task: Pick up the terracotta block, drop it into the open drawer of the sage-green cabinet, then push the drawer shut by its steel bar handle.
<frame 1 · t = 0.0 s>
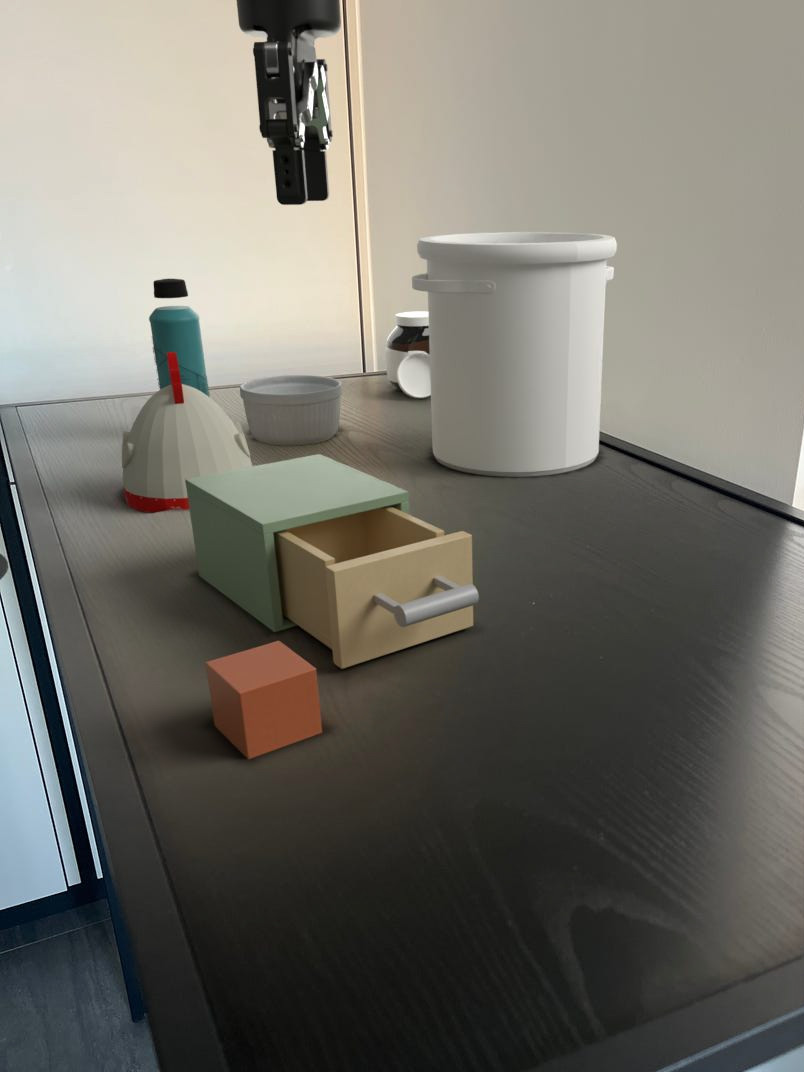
hand: (304, 202, 78), 30 cm above the table, tool pointing down, fingers open, 8 cm apart
ramekin: (296, 437, 130), on the table
cabinet: (304, 588, 82), on the table
beverage bottle: (191, 437, 131), on the table
drawer: (374, 581, 72), point 5 cm above the table, slide at 8.0 cm
block: (268, 735, 61), on the table
spread jar: (421, 393, 155), on the table
kitchen timer: (192, 495, 107), on the table
bucket: (515, 459, 119), on the table
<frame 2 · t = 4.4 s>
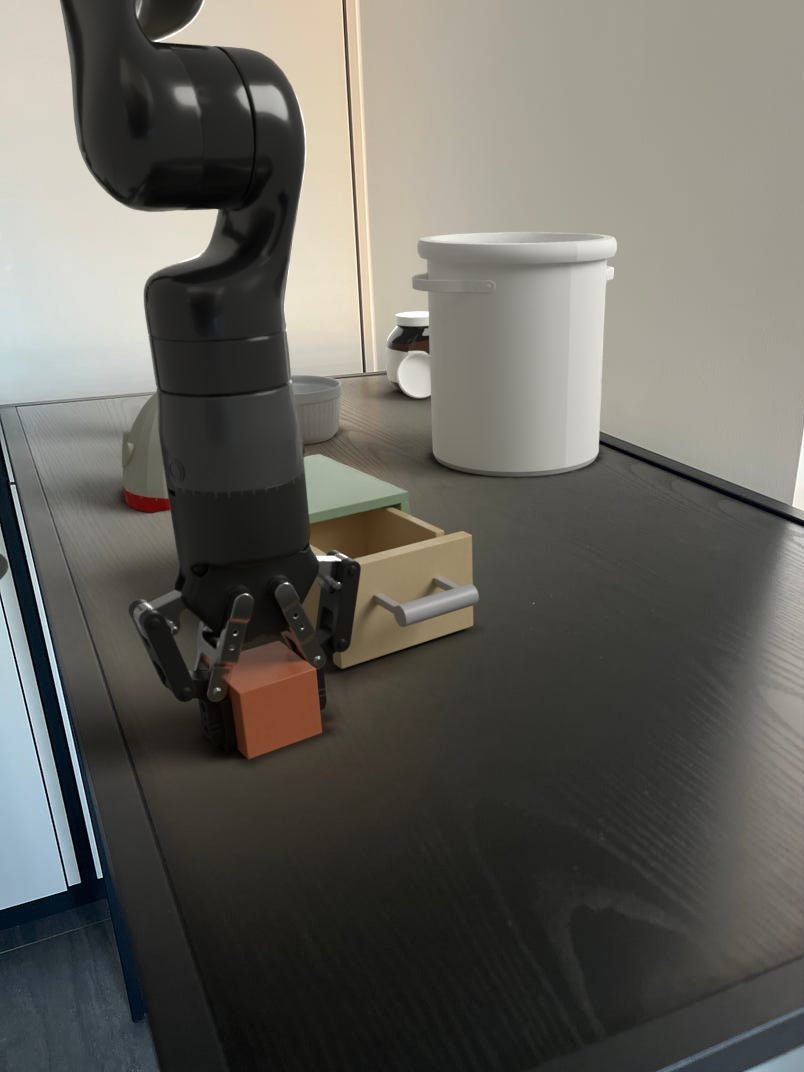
hand: (267, 730, 61), 0 cm above the table, tool pointing down, fingers closed on block, 5 cm apart
block: (268, 735, 61), on the table, touching gripper
everything else where it was.
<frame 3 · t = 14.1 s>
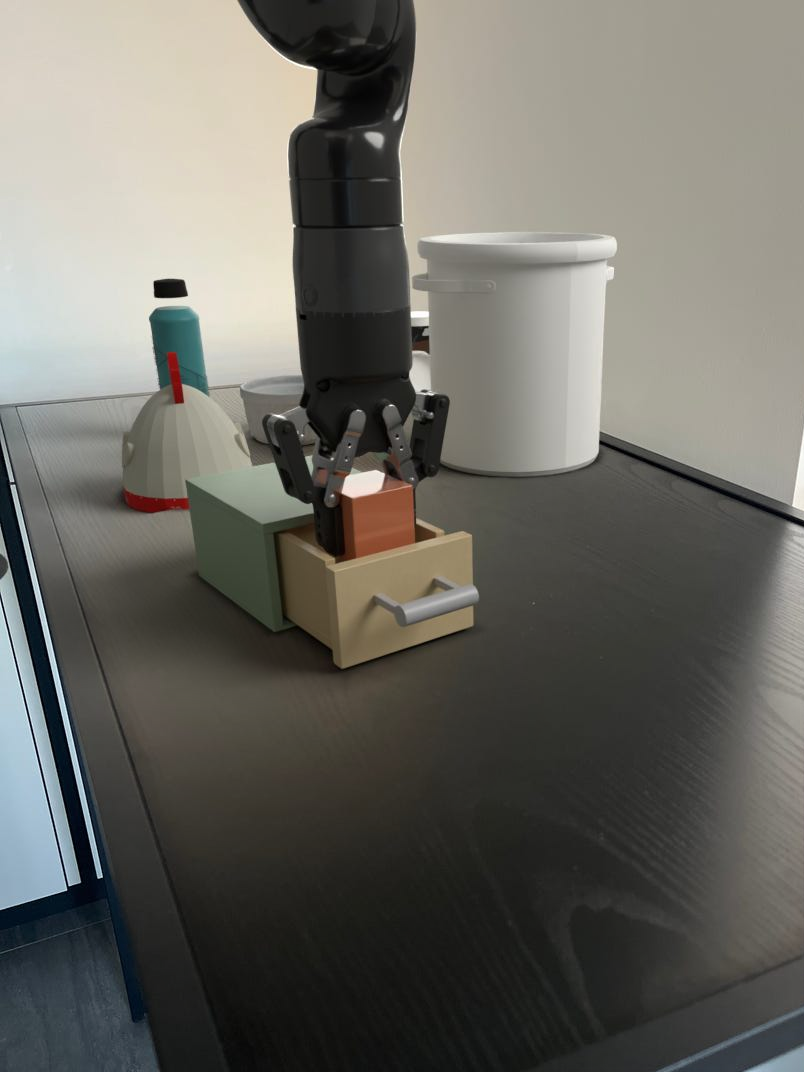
hand: (367, 543, 71), 7 cm above the table, tool pointing down, fingers closed on block, 5 cm apart
block: (368, 549, 71), point 7 cm above the table, touching gripper
everything else where it was.
when the fingers open (8 cm above the table, at t = 24.0 s): block drops 6 cm, resting on drawer.
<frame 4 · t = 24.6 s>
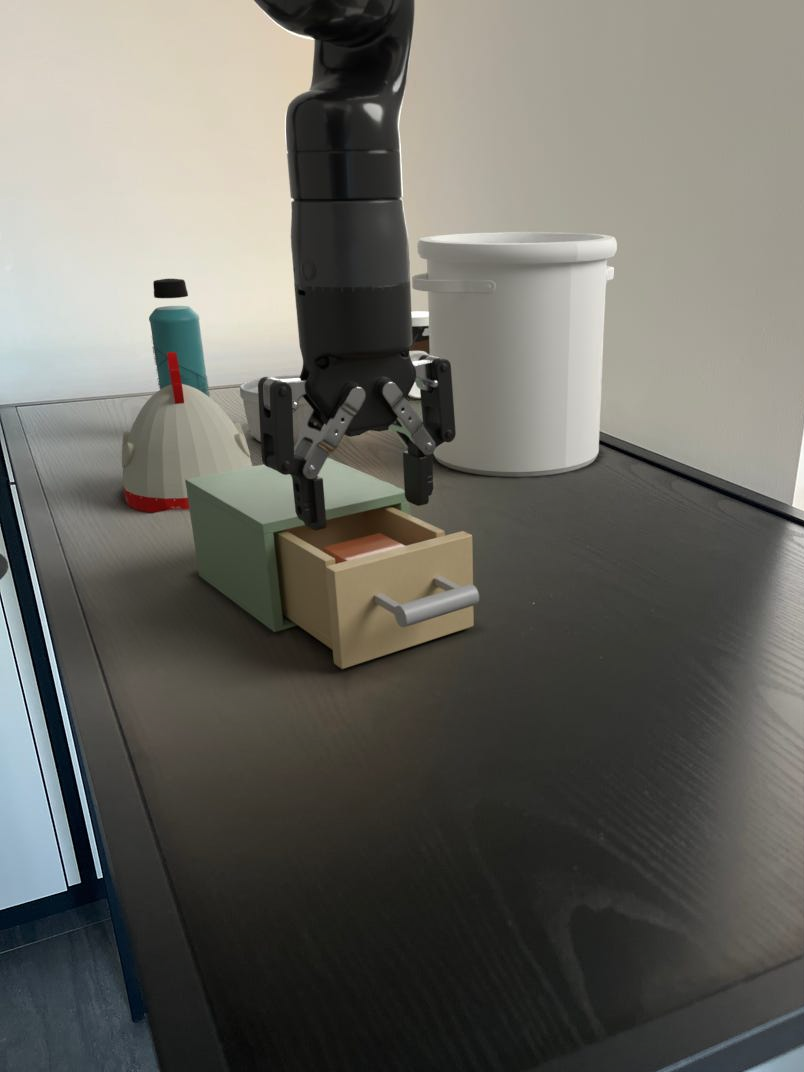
hand: (367, 514, 70), 10 cm above the table, tool pointing down, fingers open, 8 cm apart
drawer: (374, 581, 72), point 5 cm above the table, slide at 8.0 cm, touching block
block: (372, 610, 73), point 2 cm above the table, touching drawer
everything else where it was.
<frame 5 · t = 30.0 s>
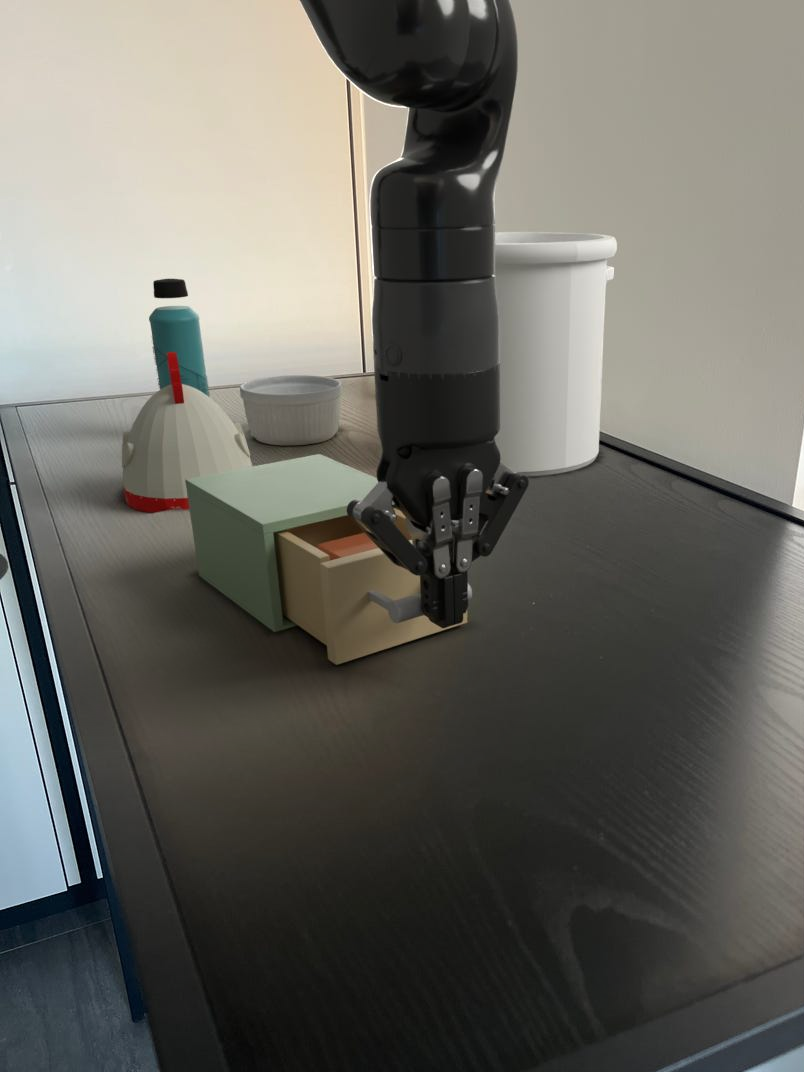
hand: (444, 621, 65), 5 cm above the table, tool pointing down, fingers closed
drawer: (369, 578, 72), point 5 cm above the table, slide at 7.2 cm, touching block
everything else where it was.
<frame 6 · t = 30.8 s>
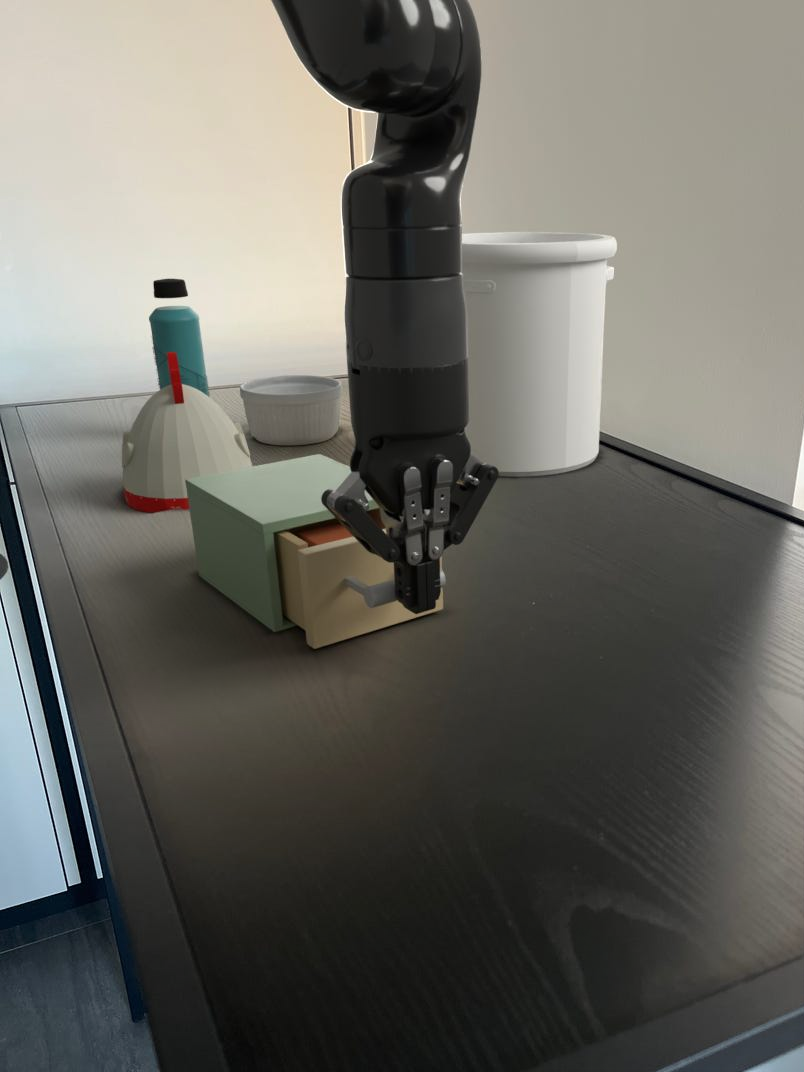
hand: (418, 608, 67), 5 cm above the table, tool pointing down, fingers closed
drawer: (347, 565, 75), point 5 cm above the table, slide at 4.0 cm, touching block, gripper
block: (346, 594, 76), point 2 cm above the table, touching drawer
everything else where it was.
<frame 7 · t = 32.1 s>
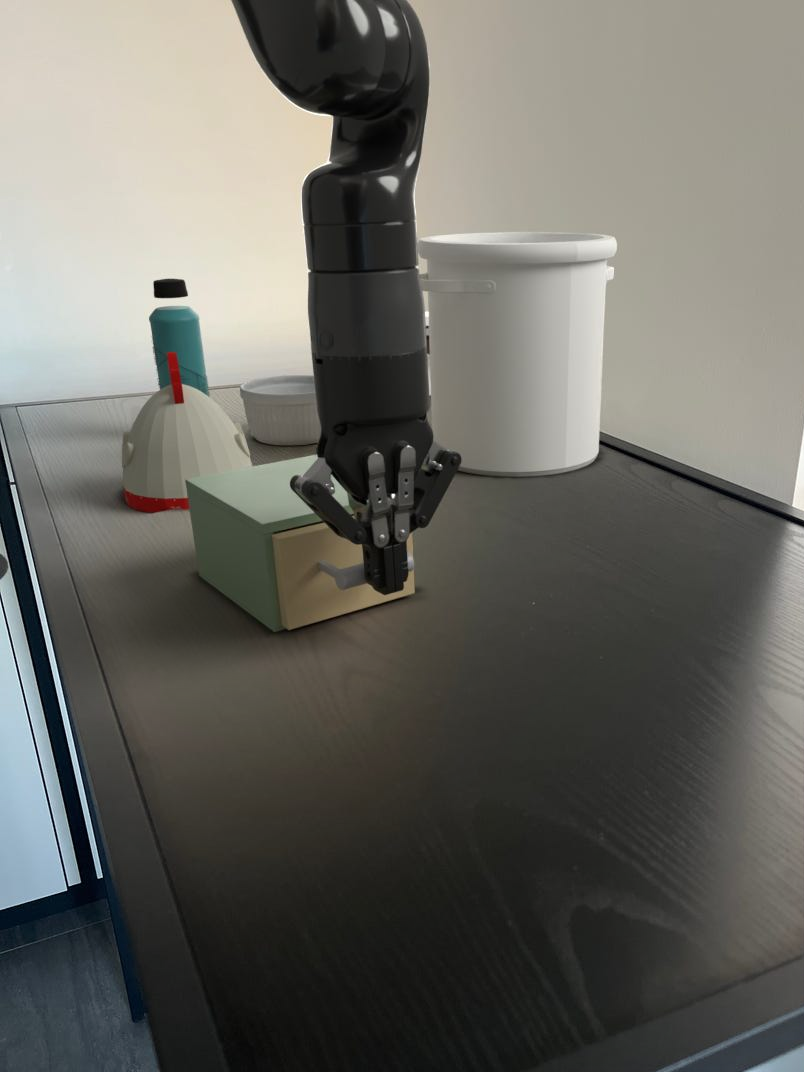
hand: (387, 590, 70), 5 cm above the table, tool pointing down, fingers closed
drawer: (322, 551, 78), point 5 cm above the table, slide at 0.0 cm, touching block, cabinet, gripper
block: (321, 579, 79), point 2 cm above the table, touching drawer
everything else where it was.
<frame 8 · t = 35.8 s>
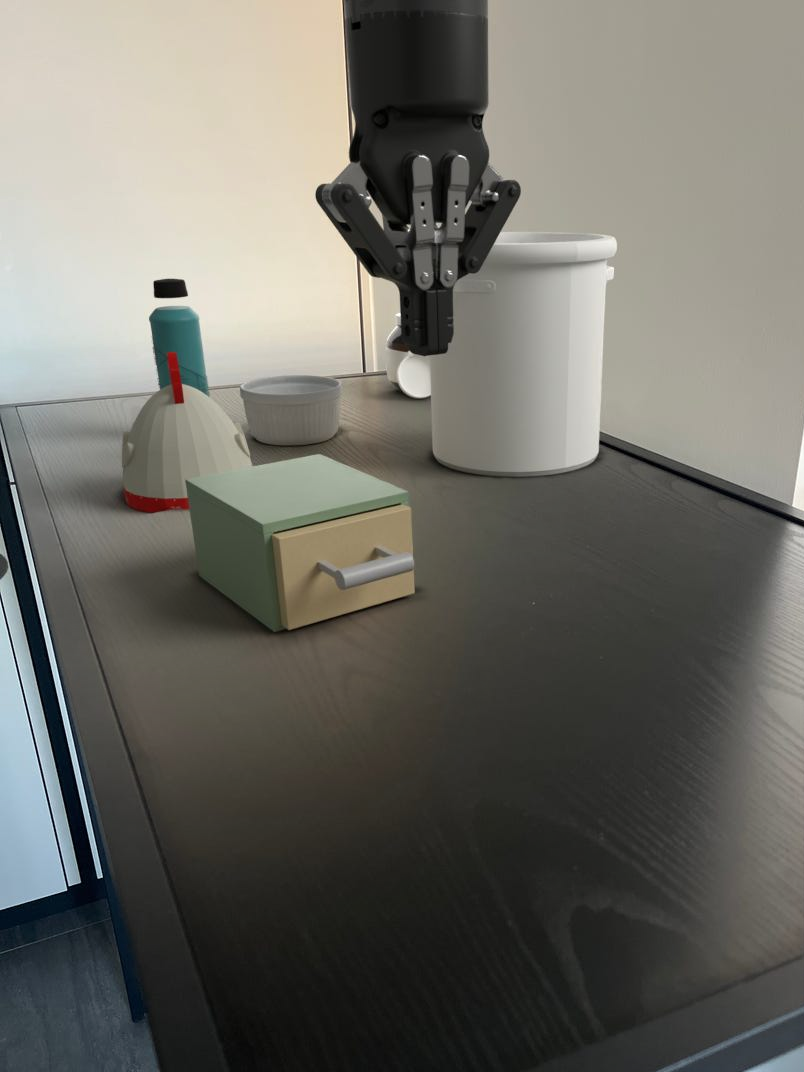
hand: (427, 353, 58), 22 cm above the table, tool pointing down, fingers closed
drawer: (322, 551, 78), point 5 cm above the table, slide at 0.0 cm, touching block
everything else where it was.
at the end: block inside the target area in the cabinet (3.4 cm from its centre), point 2.0 cm above the cabinet's base; drawer slide at 0.0 cm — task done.
